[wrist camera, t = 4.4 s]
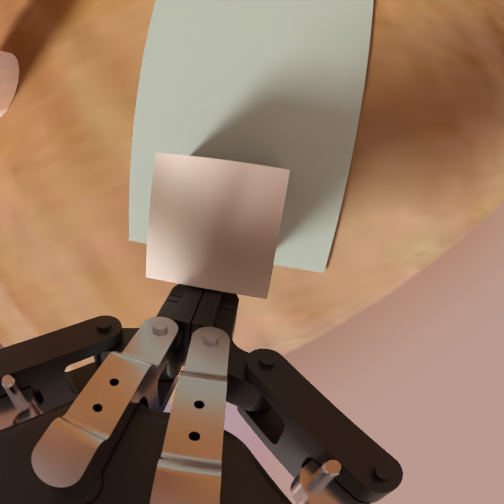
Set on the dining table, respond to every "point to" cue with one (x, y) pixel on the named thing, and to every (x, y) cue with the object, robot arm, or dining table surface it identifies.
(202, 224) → the copper block
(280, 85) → the rubber mat
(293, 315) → the dining table surface
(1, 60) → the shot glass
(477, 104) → the dining table surface
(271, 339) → the dining table surface
